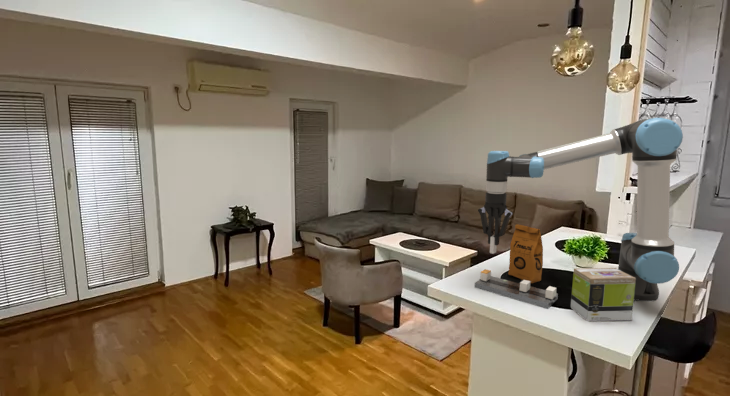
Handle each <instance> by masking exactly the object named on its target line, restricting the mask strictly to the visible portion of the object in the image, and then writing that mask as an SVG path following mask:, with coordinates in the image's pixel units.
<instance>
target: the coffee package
mask: <svg viewBox="0 0 730 396" xmlns="http://www.w3.org/2000/svg"><path fill="white" fill-rule="evenodd" d="M514 229H515V230H514V232H513V234H512V238H511V241H510V246H509V247H510V248H509V265H508V275H509V276H513V277H515V278H518V279H520V280H521V281H523V280H527V281H531V282H530V284H534V283H537V282H540V281H542V274H543V263H544V259H543V258H544V257H543V256H544V247H543V240H542V234H541V229H540V228H536V227H531V226H527V225H523V224H518V223H517V224H515V226H514Z"/></svg>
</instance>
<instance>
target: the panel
mask: <svg viewBox="0 0 730 396" xmlns="http://www.w3.org/2000/svg"><path fill="white" fill-rule="evenodd" d="M474 288H475V289H479V290H482V291H486V292H489V293H492V294H496V295H499V296H503V297H506V298H508V299H514V300H517V301H519V302H523V303H527V304H531V305H534V306H537V307H541V308H543V309H547V310H549V309H550V307H551V306H552V305H553V304H554V303H555V302H556V301H557V300H558V297H559V296H558V295H559V293H557V292H556V296H555V297H554V298H553V299H549V298H545V294H546V289H542V288H540V287H539V288H538V287H534V286H531V285H530V289H529V290H528V291H527V292H523V291H520V290H519V289H520V282H515V281H512V280H508V279H504V278H501V277H500V278H499V277H496V276H492V275H491V278H490V279H489V280H487V281H483V280H480V278H479V279H478V280H477V281H475V282H474Z"/></svg>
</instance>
